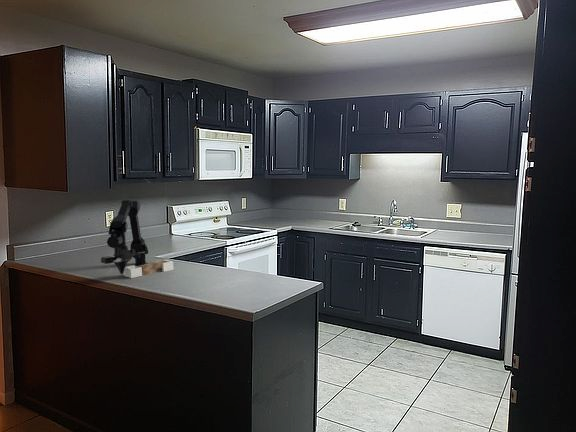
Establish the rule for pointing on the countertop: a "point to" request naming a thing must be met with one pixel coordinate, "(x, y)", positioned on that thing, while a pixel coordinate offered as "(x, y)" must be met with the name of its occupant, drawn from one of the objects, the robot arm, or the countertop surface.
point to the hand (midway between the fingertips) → (121, 273)
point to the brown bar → (152, 267)
